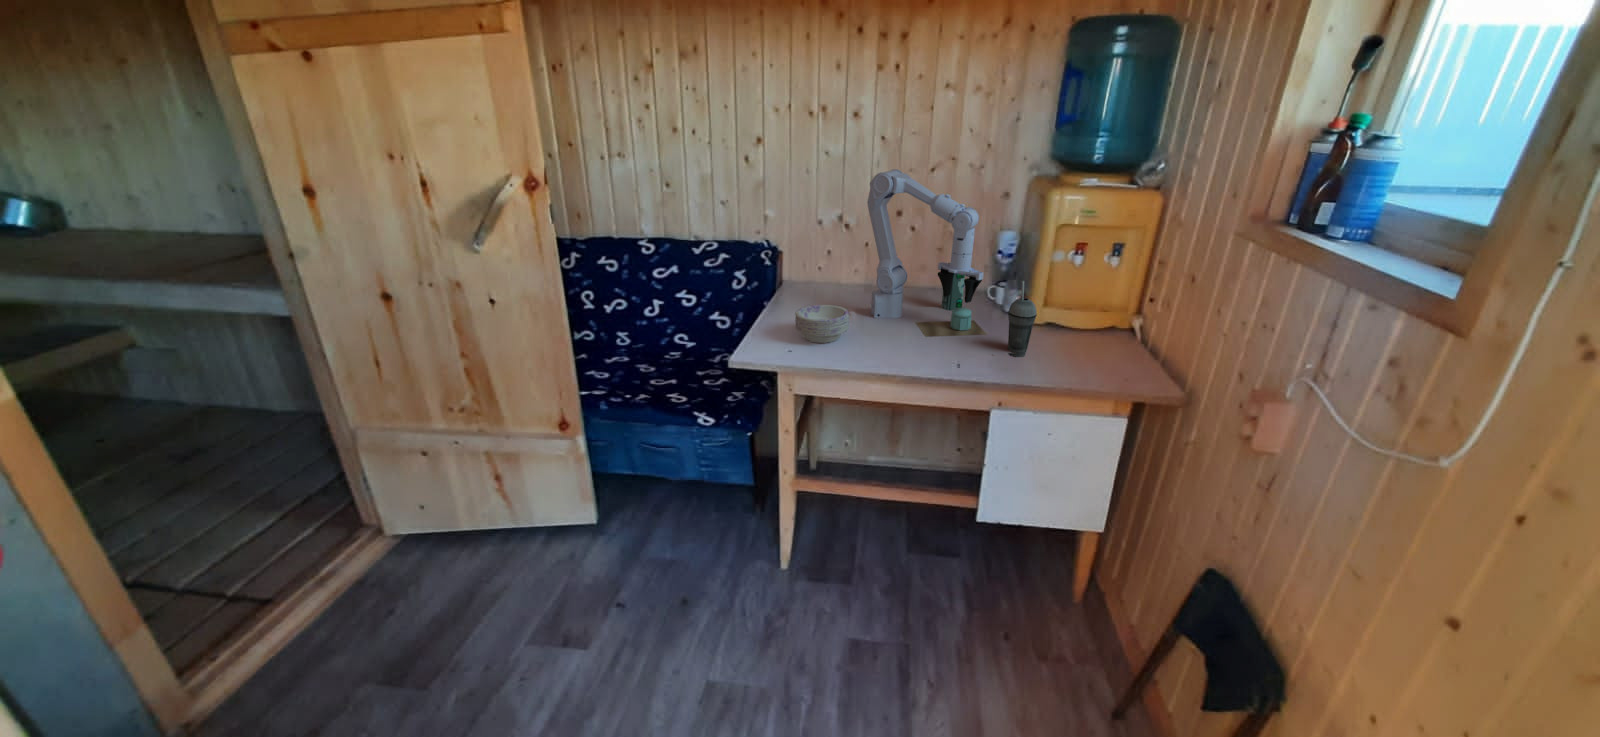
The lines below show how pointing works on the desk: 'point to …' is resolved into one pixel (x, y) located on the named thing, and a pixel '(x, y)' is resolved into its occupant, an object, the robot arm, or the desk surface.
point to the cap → (961, 319)
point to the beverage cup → (1020, 325)
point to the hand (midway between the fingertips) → (957, 298)
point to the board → (948, 329)
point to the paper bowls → (822, 322)
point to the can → (954, 293)
